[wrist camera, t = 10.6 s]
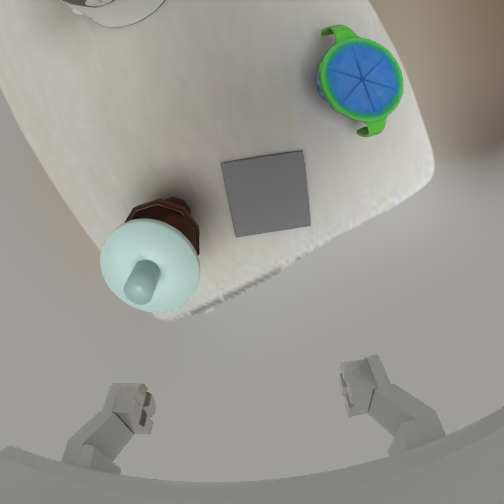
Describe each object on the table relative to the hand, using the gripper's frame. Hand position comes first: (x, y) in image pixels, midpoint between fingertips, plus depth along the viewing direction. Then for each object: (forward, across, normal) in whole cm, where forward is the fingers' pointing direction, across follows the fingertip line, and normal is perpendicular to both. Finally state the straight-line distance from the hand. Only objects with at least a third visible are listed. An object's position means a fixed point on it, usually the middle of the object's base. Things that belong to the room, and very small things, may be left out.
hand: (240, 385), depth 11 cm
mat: (+37, -3, +5) cm, 38 cm away
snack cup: (+37, -16, -11) cm, 42 cm away
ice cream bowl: (+37, +12, +5) cm, 40 cm away
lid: (+22, +12, +6) cm, 26 cm away
